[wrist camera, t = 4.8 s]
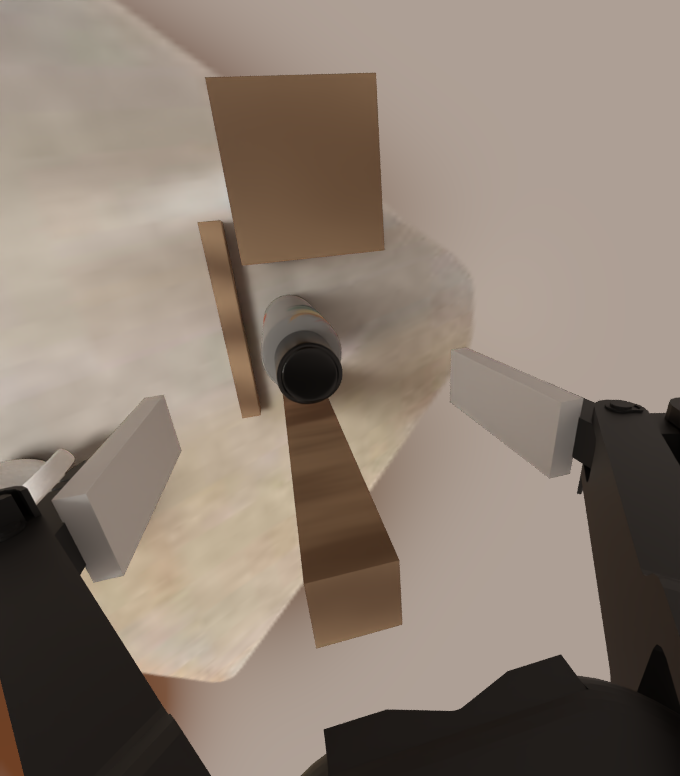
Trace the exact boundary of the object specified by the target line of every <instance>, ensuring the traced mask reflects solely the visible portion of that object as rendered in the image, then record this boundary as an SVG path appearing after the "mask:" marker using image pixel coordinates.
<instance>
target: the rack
mask: <svg viewBox="0 0 680 776" xmlns="http://www.w3.org/2000/svg"><path fill="white" fill-rule="evenodd" d="M205 79H206V84H207V90H208V95H209V100H210V105H211V110H212V115H213V120H214V125H215V131H216V136H217V141H218V146H219V151H220V156H221V161H222V166H223V172H224V177H225V182H226V187H227V192H228V197H229V202H230V207H231V213H232V218H233V223H234V228H235V233H236V238H237V243H238V249H239V254H240V259H241V264H242V266H243V265H252V264H261V263H271V262H280V261H289V260H298V259H308V258H317V257H326V256H335V255H345V254H354V253H363V252H372V251H382V250H384V231H383V210H382V191H381V169H380V151H379V150H380V149H379V127H378V107H377V86H376V73H349V74H313V75H278V76H242V77H241V76H240V77H205ZM198 227H199V231H200V235H201V240H202V244H203V248H204V253H205V257H206V261H207V266H208V270H209V274H210V279H211V283H212V287H213V292H214V296H215V300H216V305H217V309H218V313H219V318H220V322H221V327H222V331H223V335H224V340H225V344H226V348H227V353H228V357H229V361H230V366H231V370H232V374H233V379H234V383H235V387H236V392H237V396H238V400H239V405H240V409H241V413H242V418H247V417H253V416H259V415H261V406H260V401H259V397H258V392H257V387H256V382H255V377H254V372H253V367H252V362H251V358H250V353H249V348H248V343H247V338H246V333H245V328H244V324H243V319H242V314H241V309H240V304H239V299H238V294H237V289H236V285H235V280H234V275H233V270H232V265H231V260H230V255H229V251H228V246H227V241H226V236H225V231H224V226H223V222H221V221H220V220H219V221H208V222H198ZM283 399H284V408H285V417H286V426H287V435H288V444H289V453H290V462H291V472H292V481H293V490H294V499H295V508H296V517H297V526H298V535H299V544H300V553H301V562H302V571H303V580H304V587H305V592H306V597H307V602H308V607H309V613H310V618H311V623H312V628H313V633H314V638H315V644H316V648H320V647H324V646H327V645H331V644H335V643H338V642H342V641H345V640H349V639H352V638H356V637H359V636H363V635H367V634H370V633H374V632H377V631H381V630H384V629H388V628H392V627H395V626H399V625H402V608H401V587H400V567H399V566H400V565H399V559H398V556H397V554H396V552H395V549H394V547H393V545H392V543H391V541H390V538H389V536H388V534H387V531H386V529H385V527H384V524H383V522H382V520H381V518H380V515H379V513H378V511H377V508H376V506H375V504H374V502H373V499H372V497H371V495H370V492H369V490H368V488H367V486H366V483H365V481H364V479H363V476H362V474H361V472H360V470H359V467H358V465H357V463H356V461H355V458H354V456H353V454H352V451H351V449H350V447H349V445H348V442H347V440H346V438H345V435H344V433H343V431H342V429H341V426H340V424H339V422H338V420H337V417H336V415H335V413H334V410H333V408H332V406H331V404H330V401H329V399H328V398H327V399H325V400H323V401H321V402H318V403H314V404H299V403H295V402H293V401H291V400H289V399H288V398H286V397H285V396H284V395H283Z"/></svg>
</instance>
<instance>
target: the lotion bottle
mask: <svg viewBox="0 0 680 776" xmlns="http://www.w3.org/2000/svg"><path fill="white" fill-rule="evenodd" d="M261 357H262V363H263V366H264V368H265V370H266V372H267V374H268V375H269V377H270V378H271V379H272V380H273V381H274V382H275V383H276V384H277V385H278V386H279V389H280V391H281V392H282V393H283V395H284V396H285V397H286V398H288V399H289V400H291V401H293V402H295V403H299V404H314V403H318V402H321V401H323V400H325V399H327V398H329V397H330V396H331V395H332V394H334V393H335V391H336V390H337V389H338V387H339V385H340V383H341V380H342V366H341V363H340V362H341V344H340V341H339V338H338V336H337V334H336V332H335V331H334V329H333V328H332V327H331V326H330V324H329V323H328V322H327V321H326V320H325V319H324V318H323V317H322V316H321V315H320V314H319V313H318V312H317V311H316V310H315V309H314V308H313V307H312V306H311V305H310V304H309V303H308V302H307V301H305V300H304V299H302V298H300V297H298V296H293V295H285V296H281V297H279V298H277V299H275V300H274V301H273V302H271V304H270V305H269V306H268V308H267V309H266V312H265V315H264V321H263V333H262V345H261Z"/></svg>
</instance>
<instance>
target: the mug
mask: <svg viewBox="0 0 680 776" xmlns="http://www.w3.org/2000/svg"><path fill="white" fill-rule="evenodd" d="M74 460H75V458H74V456H73V455H72V454H71V453H70V452H69V451H67V450H64V449H58V450H57V451H56V452H55V453H54V454H53V455H52V457H51V458H50V459H49V460H48V461H47V462H45V461H42V460H36V459H18V460H9V461H5V462H1V463H0V489H3V488H8V487H12V486H24V487H26V488H28V490H29V492H30V494H31V496H32V498H33V499H34V501H35V503H36V505H37V504H38V503H39V502H40V501H41V500H42V499H43V498H44V497H45V495H46V494H47V493H48V492H50V491H51V489H52V488H53V487H54V486H55V485H56V484H57V483H60V480H61V479H62V478H63V477H64V476H65V472H66V471H67V470H68V469H69V468H70V466H71V465H72V463H73V462H74Z"/></svg>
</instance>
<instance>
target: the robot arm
mask: <svg viewBox="0 0 680 776" xmlns="http://www.w3.org/2000/svg"><path fill="white" fill-rule="evenodd" d="M450 384H451V385H450V402H451V403H452V404H453V405H455V406H456V407H457V408H459V409H460V410H461V411H463V412H464V413H465V414H466V415H468V416H469V417H470V418H472V419H473V420H474V421H476V422H477V423H478V424H479V425H481V426H482V427H483V428H485V429H486V430H487V431H489V432H490V433H491V434H492V435H494V436H495V437H496V438H498V439H499V440H500V441H501V442H503V443H504V444H505V445H507V446H508V447H509V448H511V449H512V450H513V451H515V452H516V453H517V454H518V455H520V456H521V457H522V458H524V459H525V460H526V461H528V462H529V463H530V464H531V465H533V466H534V467H535V468H537V469H538V470H539V471H540V472H542V473H543V474H544V475H546V476H547V477H548V478H553V477H558V476H563V475H567V474H570V470H571V464H572V459H573V458H575V459H576V460H578V461H579V462H581V463H583V465H582V471H581V476H580V481H579V486H578V491H577V494H581V493H582V491H583V493H584V499H585V506H586V513H587V519H588V526H589V533H590V539H591V546H592V553H593V560H594V566H595V573H596V579H597V586H598V592H599V600H600V605H601V613H602V619H603V626H604V633H605V640H606V646H607V653H608V660H609V666H610V675H611V682H608V681H604V680H600V679H596V678H589V677H583V676H577V675H576V674H575V673H574V672H573V670H572V669H571V667H570V666H569V665H568V663H567V662H566V661H565V659H564V658H563V657H562V655H558V656H555V657H552V658H548V659H545V660H542V661H539V662H536V663H533V664H529V665H527V666H523V667H520V668H517V669H514V670H510V671H507V672H506V673H505V674H504V675H503V676H501V677H500V678H499V679H497V680H496V681H495V682H494V683H492V684H491V685H490V686H489V687H488V688H486V689H485V690H484V691H482V692H481V693H480V694H479V695H477V696H476V697H475V698H474V699H472V700H471V701H470V702H469V703H467V704H466V705H465V706H464V707H462V708H461V709H459V710H455V711H428V710H425V711H424V710H384V711H381V712H378V713H374V714H371V715H368V716H365V717H362V718H358V719H355V720H352V721H349V722H346V723H343V724H339V725H336V726H333V727H330V728H327V729H324V736H325V744H326V753H327V754H325V755H324V756H323V757H321V758H320V759H319V760H317V761H316V762H315V763H313V764H312V765H311V766H310V767H309V768H308V769H307V770H306V771H305V772H304V773H303V774H302V775H301V776H680V398H674V399H671V400H670V402H669V405H668V409H667V412H666V413H649V412H648V411H647V410H646V409H645V408H644V407H642V406H640V405H637V404H634V403H631V402H627V401H622V400H602V401H598V402H596V403H594V402H592V401H589V400H587V399H585V398H583V397H580V396H578V395H576V394H573V393H571V392H568V391H566V390H564V389H561V388H559V387H557V386H555V385H552V384H550V383H547V382H545V381H543V380H540V379H538V378H536V377H533V376H531V375H529V374H526V373H524V372H522V371H519V370H517V369H515V368H513V367H510V366H508V365H506V364H503V363H501V362H498V361H496V360H494V359H492V358H489V357H487V356H485V355H482V354H480V353H478V352H475V351H473V350H471V349H469V348H466V347H465V348H458V349H452V350H451V379H450ZM180 453H181V448H180V445H179V441H178V438H177V435H176V432H175V429H174V426H173V423H172V419H171V416H170V413H169V410H168V407H167V404H166V400H165V397H164V395H160V396H154V397H148V398H144V399H143V400H142V401H141V402H140V404H139V405H138V406H137V407H136V408H135V409H134V410H133V411H132V412H131V413H130V415H129V416H128V417H127V418H126V419H125V420H124V421H123V422H122V423H121V424H120V426H119V427H118V428H117V429H116V430H115V431H114V432H113V433H112V434H111V435H110V437H109V438H108V439H107V440H106V441H105V442H104V443H103V444H102V445H101V446H100V448H99V449H98V450H97V451H96V452H95V453H94V454H93V455H92V456H91V457H90V458H89V460H85V461H83V462H82V463H80V464H79V465H77V466H75V467H74V468H72V469H71V470H69V471H68V472H67V474H66V475H65V476H64V477H63V478H62V479H61V480H60V483H57V484H56V485H55V486H54V487H53V488H52V489H51V491H50V492H48V493H47V494H46V495H45V497H44V498H43V499H42V500H41V501H40V502H39V503H38V504H37V505H36V503H35V501H34V499H33V498H32V496H31V494H30V492H29V490H28V488H26V487H24V486H12V487H8V488H3V489H0V680H1V684H2V688H3V692H4V696H5V700H6V704H7V708H8V712H9V716H10V720H11V724H12V728H13V732H14V736H15V741H16V745H17V749H18V753H19V757H20V761H21V764H22V769H23V773H24V776H211V775H210V774H209V772H208V770H207V769H206V767H205V766H204V764H203V763H202V761H201V760H200V758H199V756H198V755H197V753H196V752H195V750H194V749H193V747H192V745H191V744H190V742H189V741H188V739H187V738H186V736H185V735H184V733H183V731H182V730H181V729H180V727H179V725H178V724H177V722H176V721H175V719H174V718H173V717H172V716H171V714H168V713H167V712H166V710H165V709H164V707H163V706H162V704H161V702H160V701H159V700H158V698H157V696H156V695H155V693H154V691H153V690H152V688H151V687H150V685H149V684H148V682H147V680H146V679H145V677H144V676H143V674H142V672H141V671H140V669H139V668H138V666H137V665H136V663H135V661H134V660H133V658H132V657H131V655H130V653H129V652H128V650H127V649H126V647H125V646H124V644H123V642H122V641H121V639H120V638H119V636H118V635H117V633H116V631H115V630H114V628H113V627H112V625H111V623H110V622H109V620H108V619H107V617H106V616H105V614H104V612H103V611H102V609H101V608H100V606H99V605H98V603H97V601H96V600H95V598H94V597H93V595H92V593H91V592H90V590H89V589H88V587H87V586H86V584H85V582H84V581H83V579H82V578H81V576H80V574H81V573H82V571H83V569H84V568H85V567H86V569H87V571H88V573H89V575H90V577H91V579H92V581H93V583H94V582H98V581H103V580H107V579H111V578H116V577H120V576H124V574H125V572H126V570H127V568H128V566H129V563H130V561H131V559H132V557H133V555H134V553H135V550H136V548H137V546H138V544H139V542H140V540H141V537H142V535H143V533H144V531H145V529H146V527H147V524H148V522H149V520H150V518H151V516H152V514H153V511H154V509H155V507H156V505H157V503H158V501H159V498H160V496H161V494H162V492H163V490H164V488H165V485H166V483H167V481H168V479H169V477H170V474H171V472H172V470H173V468H174V466H175V464H176V461H177V459H178V457H179V455H180Z"/></svg>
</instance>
